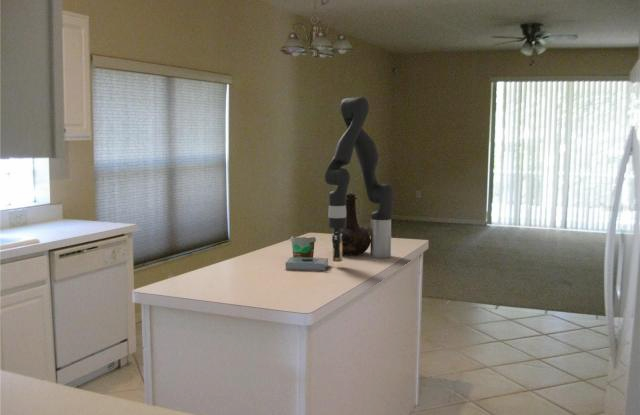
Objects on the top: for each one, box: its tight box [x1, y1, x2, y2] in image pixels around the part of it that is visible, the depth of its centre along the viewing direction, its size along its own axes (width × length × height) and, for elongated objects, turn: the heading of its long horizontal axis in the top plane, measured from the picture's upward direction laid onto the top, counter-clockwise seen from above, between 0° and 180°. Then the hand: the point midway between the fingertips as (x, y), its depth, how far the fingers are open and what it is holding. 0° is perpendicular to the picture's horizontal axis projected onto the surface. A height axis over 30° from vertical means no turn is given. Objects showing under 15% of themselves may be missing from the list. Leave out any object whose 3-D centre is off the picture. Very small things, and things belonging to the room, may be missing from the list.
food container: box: [289, 234, 317, 258], centre depth 284 cm, size 12×6×10 cm, turn 62°
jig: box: [285, 256, 329, 272], centre depth 266 cm, size 16×12×3 cm
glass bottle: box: [331, 193, 371, 256], centre depth 297 cm, size 18×18×28 cm
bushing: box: [332, 241, 343, 263], centre depth 267 cm, size 4×4×8 cm
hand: (337, 256), depth 267 cm, fingers closed on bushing, 4 cm apart
